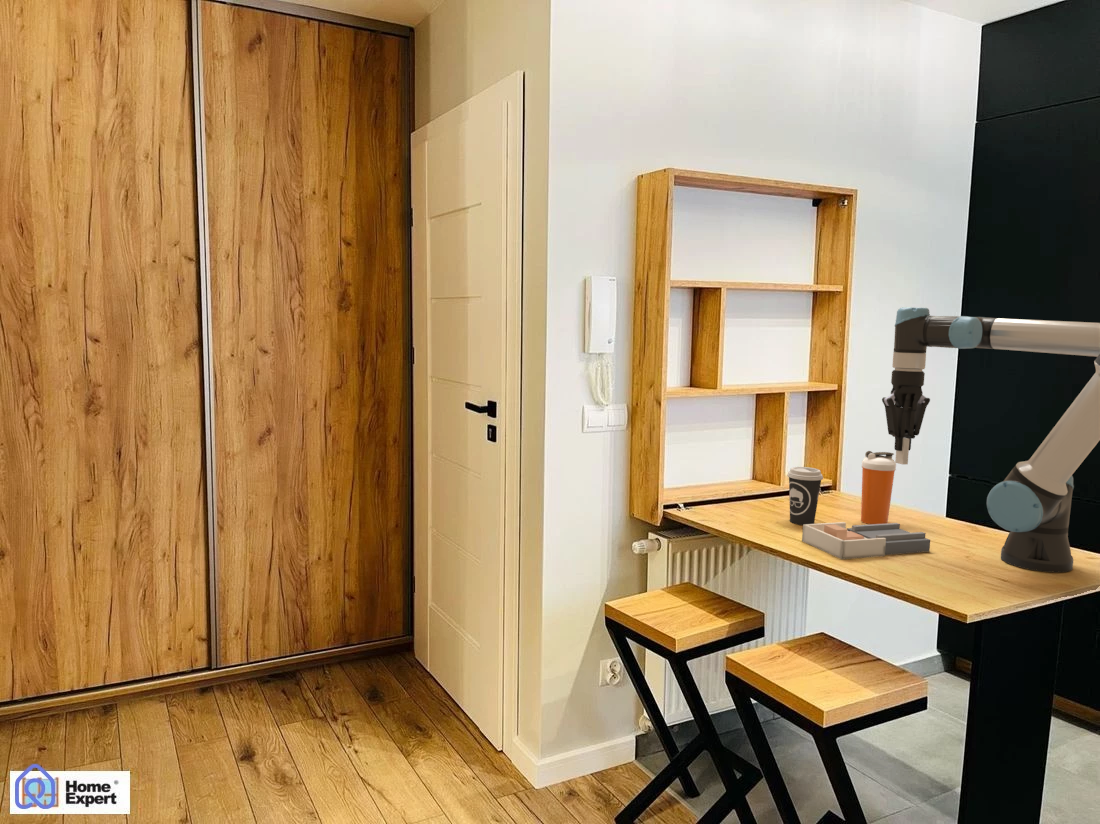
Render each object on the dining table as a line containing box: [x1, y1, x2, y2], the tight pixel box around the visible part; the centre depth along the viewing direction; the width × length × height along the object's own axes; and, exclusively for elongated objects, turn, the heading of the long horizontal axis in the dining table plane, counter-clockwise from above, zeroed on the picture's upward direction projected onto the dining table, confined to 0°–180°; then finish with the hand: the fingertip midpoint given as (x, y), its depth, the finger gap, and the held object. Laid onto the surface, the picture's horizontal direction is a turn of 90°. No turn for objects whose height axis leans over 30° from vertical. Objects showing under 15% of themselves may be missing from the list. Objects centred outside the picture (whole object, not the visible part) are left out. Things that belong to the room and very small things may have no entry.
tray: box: [801, 521, 886, 560], centre depth 212 cm, size 16×12×4 cm
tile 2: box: [847, 531, 864, 540], centre depth 212 cm, size 5×5×3 cm
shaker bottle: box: [860, 450, 897, 525], centre depth 239 cm, size 9×9×20 cm
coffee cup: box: [787, 466, 824, 526], centre depth 236 cm, size 10×10×15 cm
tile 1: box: [824, 524, 847, 540], centre depth 211 cm, size 5×5×3 cm
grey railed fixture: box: [846, 522, 931, 556], centre depth 216 cm, size 14×14×4 cm
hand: (901, 463), depth 214 cm, fingers closed
